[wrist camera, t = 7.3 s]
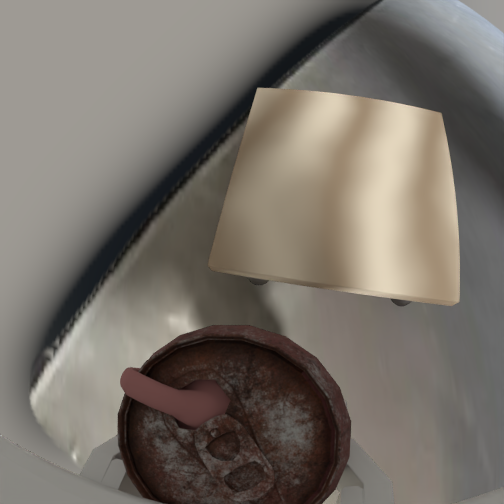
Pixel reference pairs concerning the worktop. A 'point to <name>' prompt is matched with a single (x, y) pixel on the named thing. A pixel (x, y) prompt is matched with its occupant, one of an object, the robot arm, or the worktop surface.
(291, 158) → the small table
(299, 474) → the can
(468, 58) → the worktop surface
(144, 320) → the worktop surface
